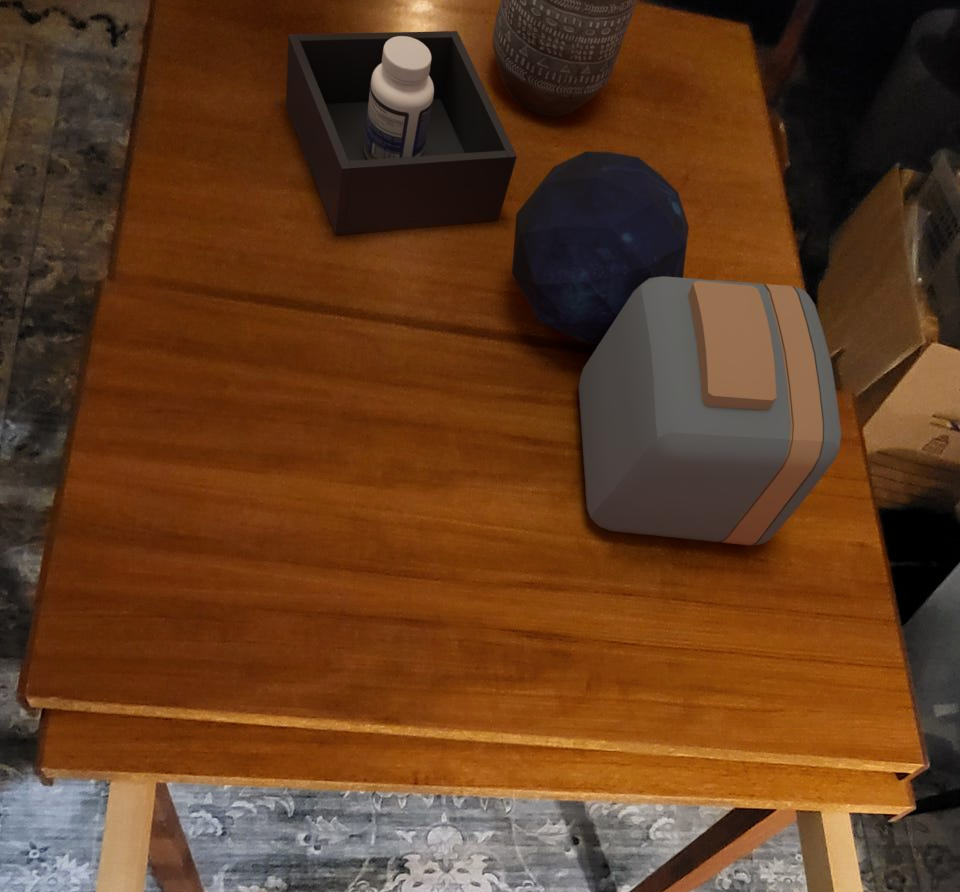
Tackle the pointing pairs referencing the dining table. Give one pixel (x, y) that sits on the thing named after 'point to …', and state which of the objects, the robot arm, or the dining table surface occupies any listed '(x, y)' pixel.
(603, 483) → the grey rounded cube box
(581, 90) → the planter
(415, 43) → the pill bottle
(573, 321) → the decorative orb
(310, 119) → the bin
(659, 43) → the dining table surface
